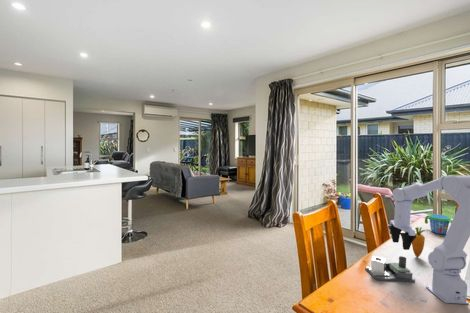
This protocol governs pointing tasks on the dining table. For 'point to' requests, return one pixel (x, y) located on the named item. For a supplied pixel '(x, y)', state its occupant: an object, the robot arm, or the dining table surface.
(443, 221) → the snack cup
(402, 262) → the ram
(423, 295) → the dining table surface
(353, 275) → the dining table surface
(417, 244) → the carrot
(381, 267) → the block
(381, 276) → the press
